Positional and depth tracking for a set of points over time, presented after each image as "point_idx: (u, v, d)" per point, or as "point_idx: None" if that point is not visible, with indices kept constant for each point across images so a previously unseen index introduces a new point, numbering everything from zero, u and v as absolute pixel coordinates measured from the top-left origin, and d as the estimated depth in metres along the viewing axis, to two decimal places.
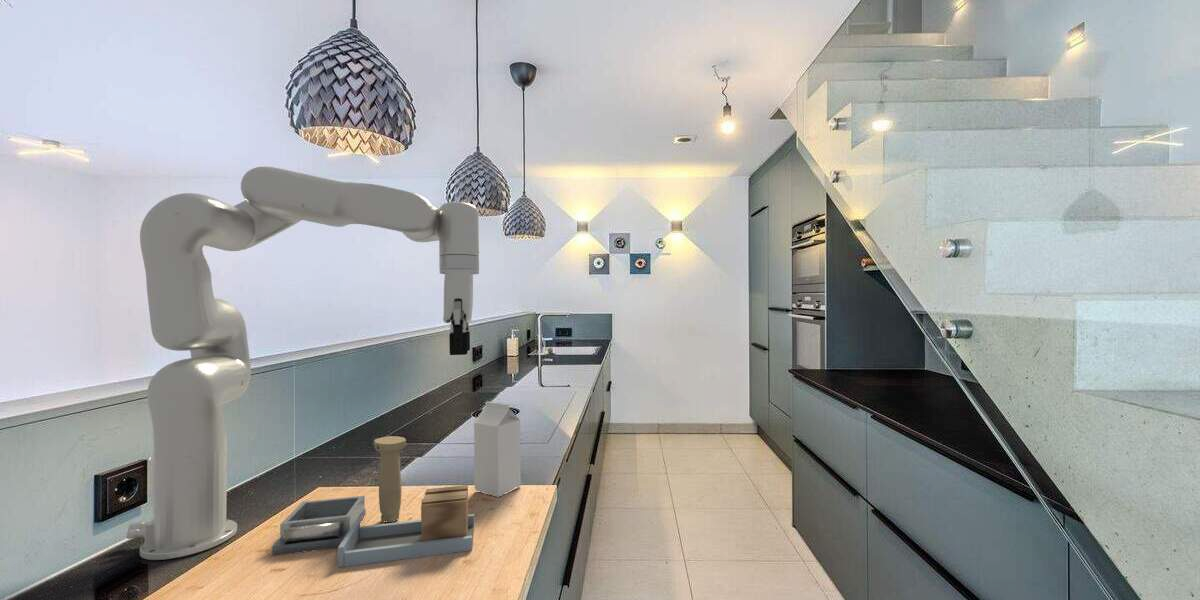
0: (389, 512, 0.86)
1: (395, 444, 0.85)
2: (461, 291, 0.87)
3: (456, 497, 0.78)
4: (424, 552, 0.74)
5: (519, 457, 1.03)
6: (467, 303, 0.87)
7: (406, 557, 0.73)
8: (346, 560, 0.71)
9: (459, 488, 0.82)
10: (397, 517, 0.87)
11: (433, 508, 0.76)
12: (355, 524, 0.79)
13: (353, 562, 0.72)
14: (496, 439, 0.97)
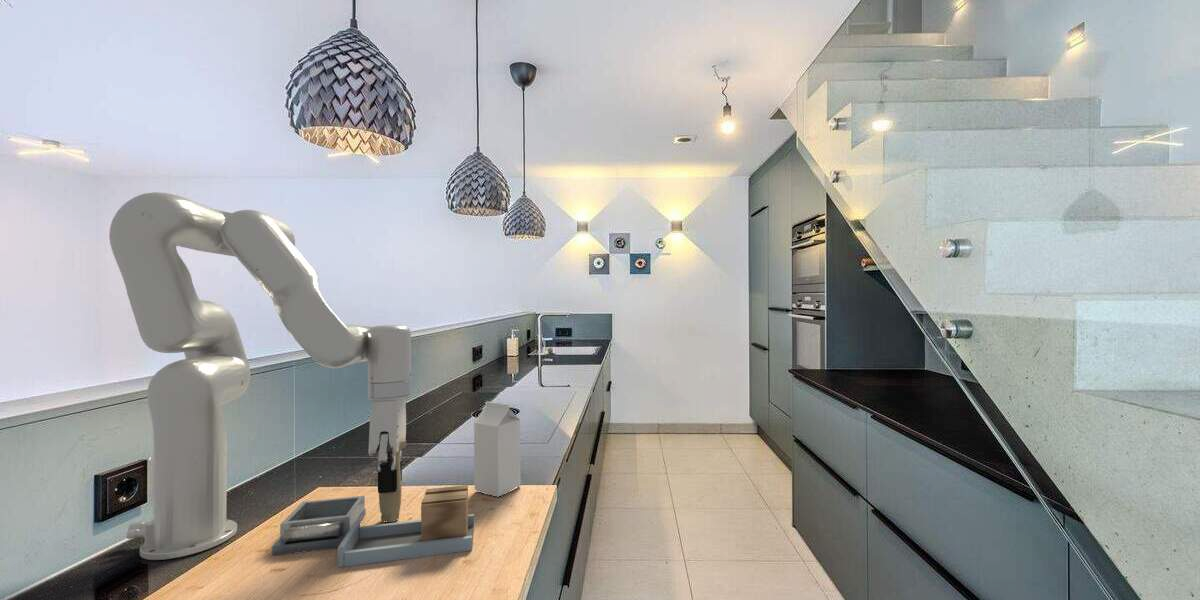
0: (389, 512, 0.86)
1: None
2: (388, 423, 0.83)
3: (456, 497, 0.78)
4: (424, 552, 0.74)
5: (519, 457, 1.03)
6: (394, 435, 0.84)
7: (406, 557, 0.73)
8: (346, 560, 0.71)
9: (459, 488, 0.82)
10: (397, 517, 0.87)
11: (433, 508, 0.76)
12: (355, 524, 0.79)
13: (353, 562, 0.72)
14: (496, 439, 0.97)
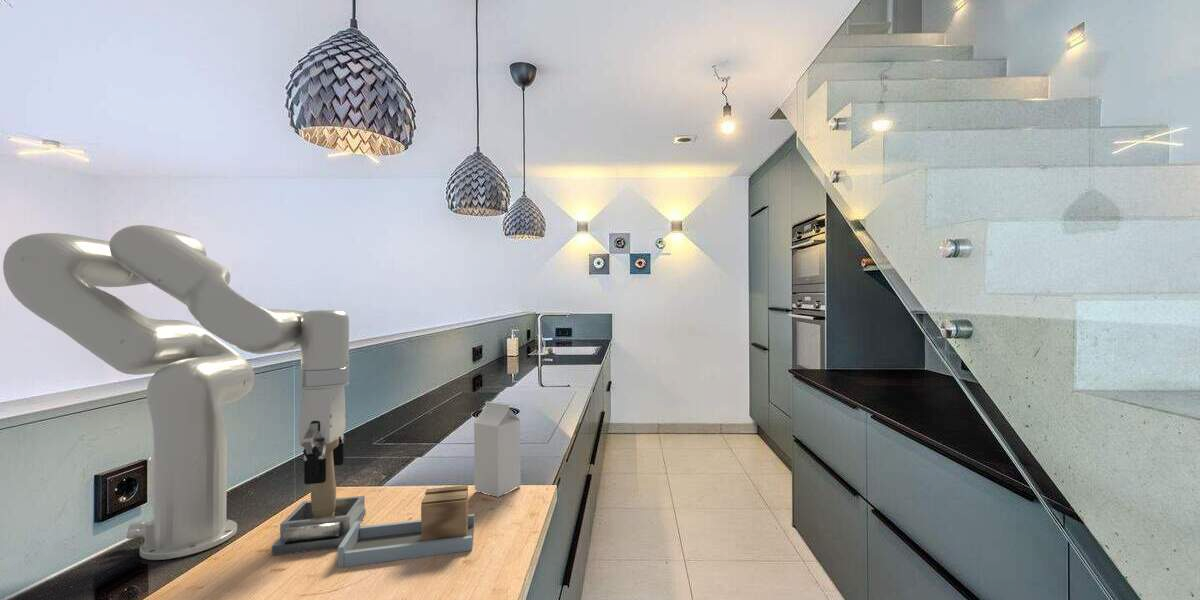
0: (321, 514, 0.82)
1: None
2: (319, 412, 0.79)
3: (456, 497, 0.78)
4: (424, 552, 0.74)
5: (519, 457, 1.03)
6: (326, 425, 0.79)
7: (406, 557, 0.73)
8: (346, 560, 0.71)
9: (459, 488, 0.82)
10: None
11: (433, 508, 0.76)
12: (355, 524, 0.79)
13: (353, 562, 0.72)
14: (496, 439, 0.97)
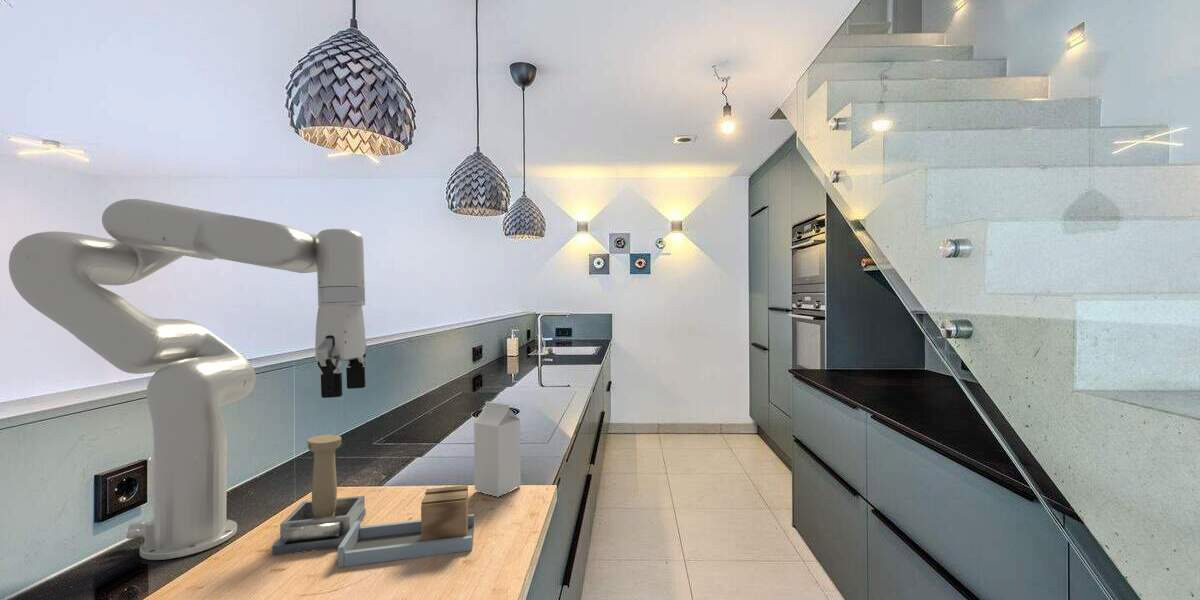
0: (322, 514, 0.82)
1: (328, 443, 0.81)
2: (333, 327, 0.79)
3: (456, 497, 0.78)
4: (424, 552, 0.74)
5: (519, 457, 1.03)
6: (340, 340, 0.79)
7: (406, 557, 0.73)
8: (346, 560, 0.71)
9: (459, 488, 0.82)
10: None
11: (433, 508, 0.76)
12: (355, 524, 0.79)
13: (353, 562, 0.72)
14: (496, 439, 0.97)
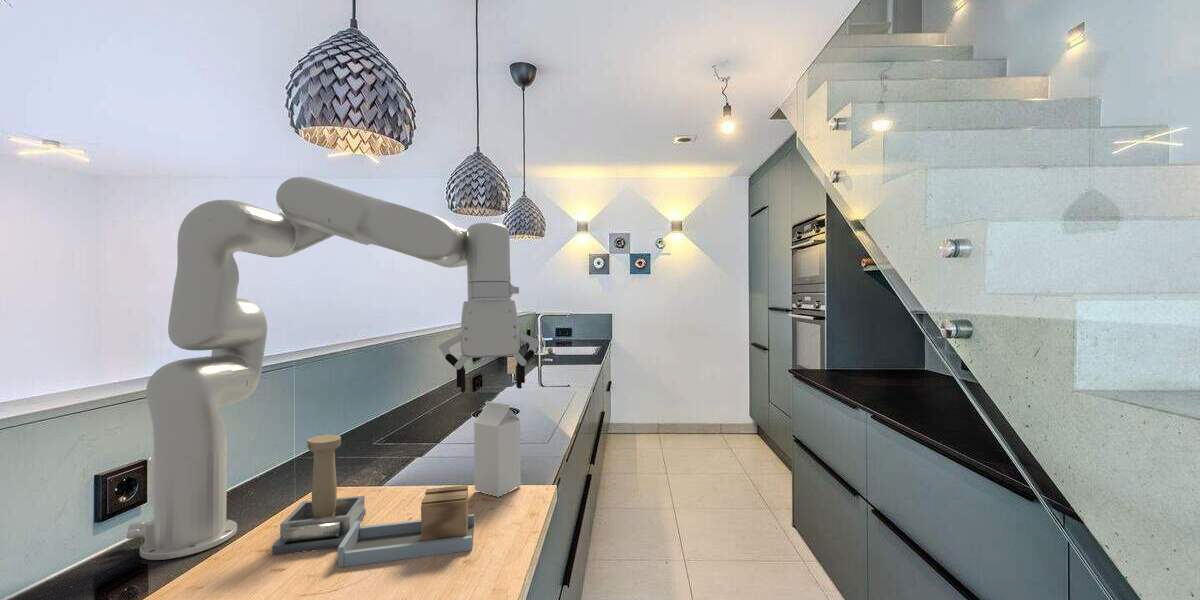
0: (322, 514, 0.82)
1: (328, 443, 0.81)
2: (461, 323, 0.81)
3: (456, 497, 0.78)
4: (424, 552, 0.74)
5: (519, 457, 1.03)
6: (461, 337, 0.80)
7: (406, 557, 0.73)
8: (346, 560, 0.71)
9: (459, 488, 0.82)
10: None
11: (433, 508, 0.76)
12: (355, 524, 0.79)
13: (353, 562, 0.72)
14: (496, 439, 0.97)
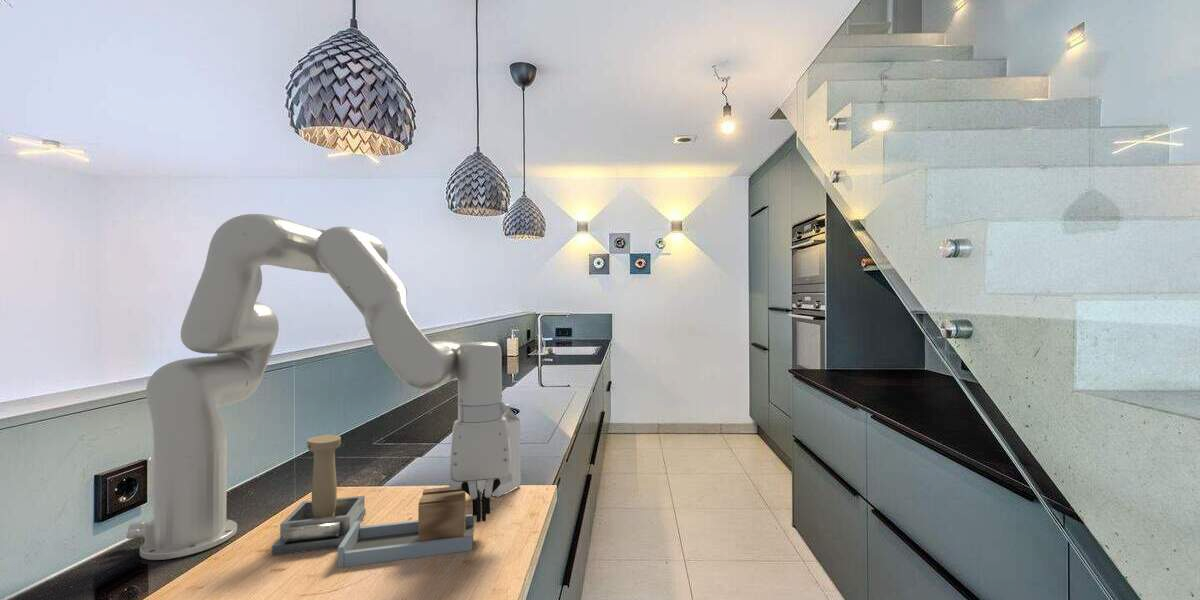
0: (322, 514, 0.82)
1: (327, 443, 0.81)
2: (451, 446, 0.79)
3: (453, 497, 0.77)
4: (424, 552, 0.74)
5: (519, 457, 1.03)
6: (451, 461, 0.78)
7: (406, 557, 0.73)
8: (346, 560, 0.71)
9: None
10: None
11: (431, 508, 0.76)
12: (355, 524, 0.79)
13: (353, 562, 0.72)
14: None
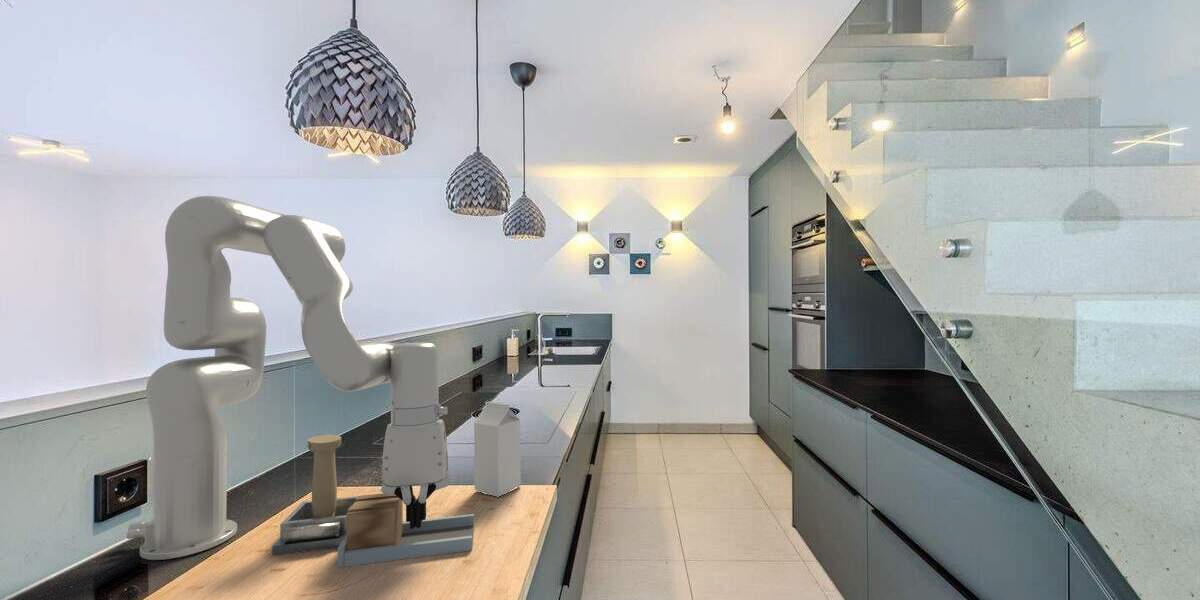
0: (322, 514, 0.82)
1: (328, 443, 0.81)
2: None
3: (385, 504, 0.75)
4: (424, 552, 0.74)
5: (519, 457, 1.03)
6: (382, 466, 0.76)
7: (406, 557, 0.73)
8: (346, 560, 0.71)
9: (392, 495, 0.79)
10: None
11: (360, 516, 0.73)
12: None
13: (353, 562, 0.72)
14: (496, 439, 0.97)
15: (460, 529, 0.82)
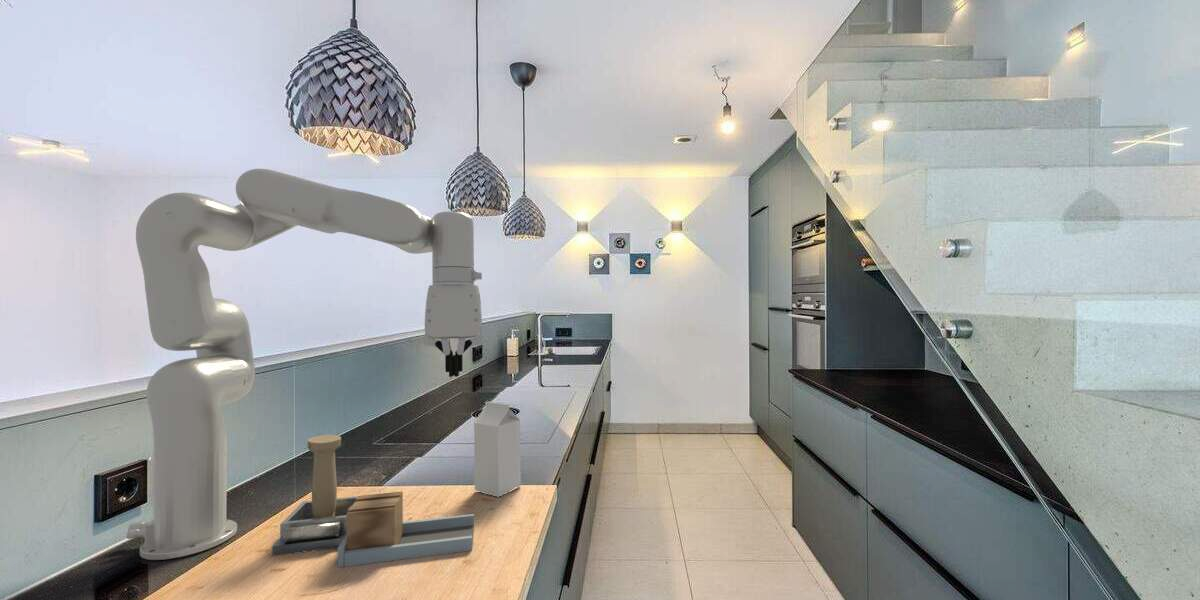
0: (322, 514, 0.82)
1: (328, 443, 0.81)
2: None
3: (385, 504, 0.75)
4: (424, 552, 0.74)
5: (519, 457, 1.03)
6: (425, 318, 0.85)
7: (406, 557, 0.73)
8: (346, 560, 0.71)
9: (392, 495, 0.79)
10: None
11: (360, 516, 0.73)
12: None
13: (353, 562, 0.72)
14: (496, 439, 0.97)
15: (460, 529, 0.82)
